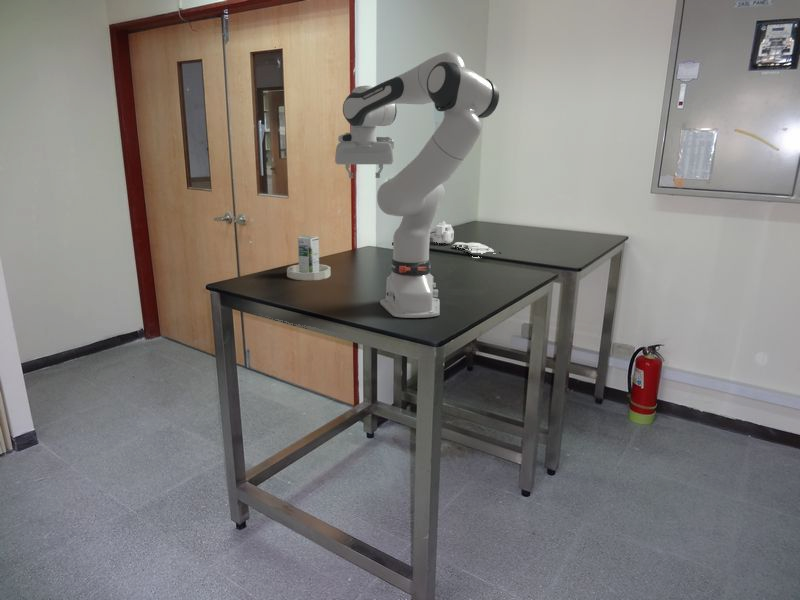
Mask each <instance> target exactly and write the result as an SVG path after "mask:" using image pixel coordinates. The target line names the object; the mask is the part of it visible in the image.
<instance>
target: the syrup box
mask: <svg viewBox="0 0 800 600" xmlns="http://www.w3.org/2000/svg"><path fill="white" fill-rule="evenodd" d="M319 244H320V243H319V236H314V235H313V236H312V235H311V236H310V235H300V236H298V237H297V249H298V265H299V272H302V273H313V272H319V264H320V247H319V246H320V245H319Z"/></svg>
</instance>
